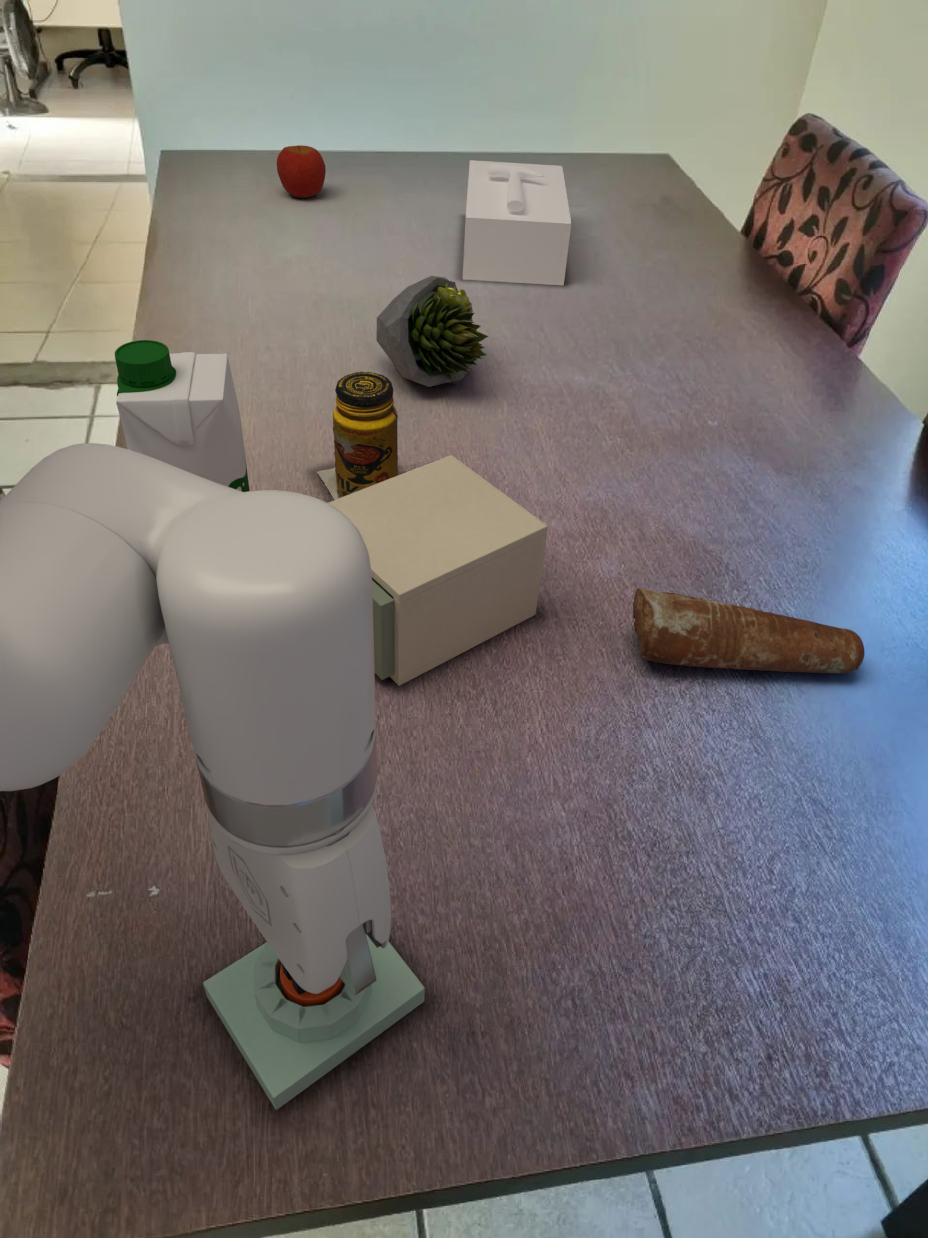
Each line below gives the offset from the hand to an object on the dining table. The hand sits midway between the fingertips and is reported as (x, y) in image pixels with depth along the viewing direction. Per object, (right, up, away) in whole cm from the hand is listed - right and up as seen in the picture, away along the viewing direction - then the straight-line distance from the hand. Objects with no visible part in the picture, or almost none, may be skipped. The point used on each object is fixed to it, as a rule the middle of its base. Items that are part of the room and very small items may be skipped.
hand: (315, 969), depth 53 cm
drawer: (+2, +20, +26) cm, 33 cm away
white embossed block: (+16, +76, +90) cm, 119 cm away
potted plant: (+5, +48, +59) cm, 77 cm away
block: (0, -3, +3) cm, 4 cm away
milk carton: (-15, +25, +32) cm, 44 cm away
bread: (+31, +17, +26) cm, 44 cm away
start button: (0, -1, +1) cm, 2 cm away
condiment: (-2, +33, +42) cm, 53 cm away
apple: (-18, +90, +103) cm, 138 cm away
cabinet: (+5, +21, +29) cm, 36 cm away
